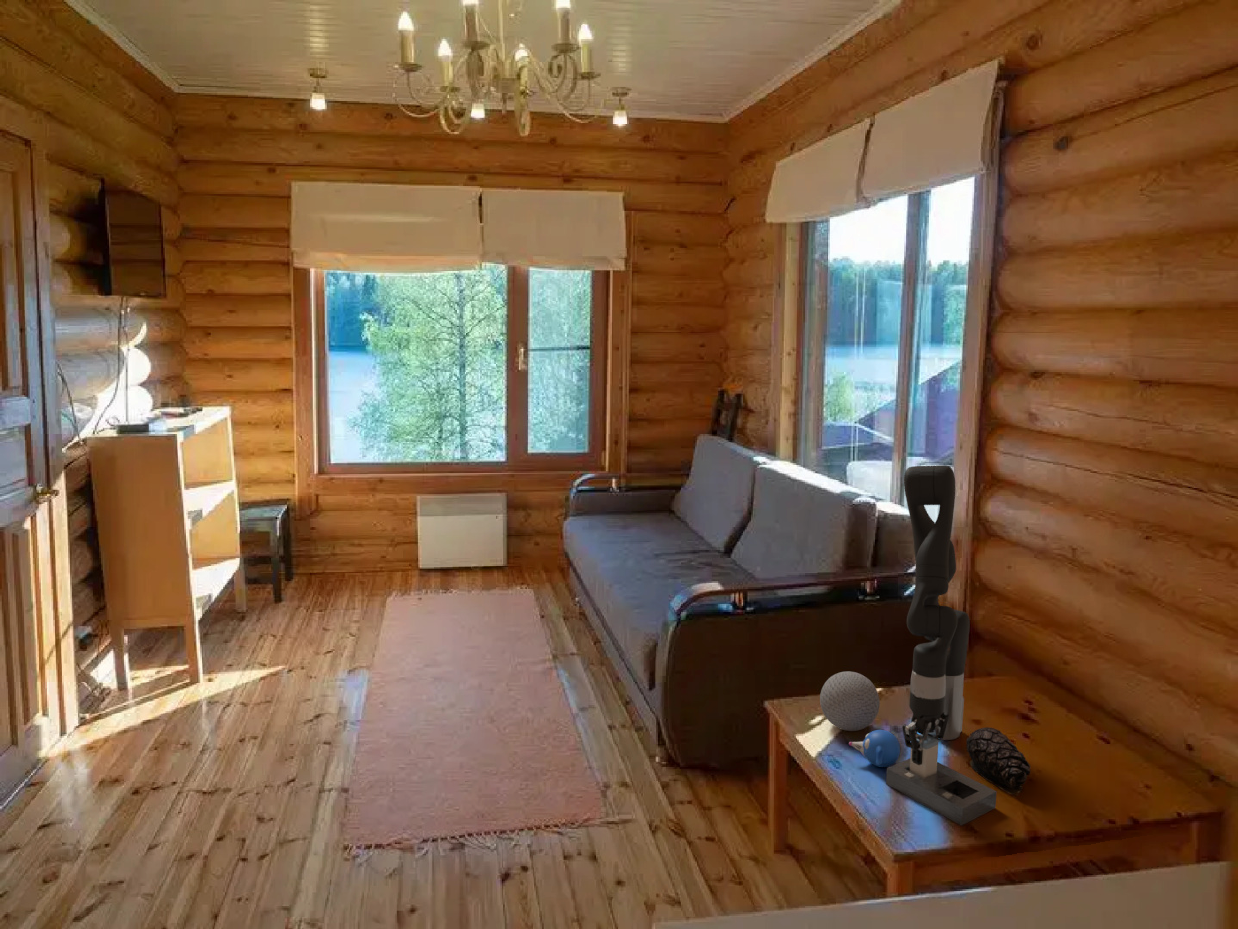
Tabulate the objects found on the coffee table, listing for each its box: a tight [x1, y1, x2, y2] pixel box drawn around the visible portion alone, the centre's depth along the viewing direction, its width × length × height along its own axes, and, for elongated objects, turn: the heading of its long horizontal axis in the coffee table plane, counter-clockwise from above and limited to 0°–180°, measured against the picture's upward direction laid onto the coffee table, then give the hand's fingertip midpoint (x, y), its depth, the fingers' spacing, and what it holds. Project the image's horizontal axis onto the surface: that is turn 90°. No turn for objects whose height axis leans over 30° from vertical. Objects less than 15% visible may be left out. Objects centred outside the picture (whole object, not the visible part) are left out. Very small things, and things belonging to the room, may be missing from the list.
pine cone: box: [965, 726, 1031, 796], centre depth 208 cm, size 10×18×10 cm, turn 20°
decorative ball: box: [819, 671, 881, 732], centre depth 231 cm, size 15×15×15 cm
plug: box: [909, 733, 940, 779], centre depth 203 cm, size 4×4×11 cm
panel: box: [885, 757, 998, 827], centre depth 200 cm, size 12×20×4 cm, turn 34°
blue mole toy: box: [848, 729, 901, 768], centre depth 214 cm, size 12×12×8 cm
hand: (923, 760), depth 203 cm, fingers closed on plug, 4 cm apart
